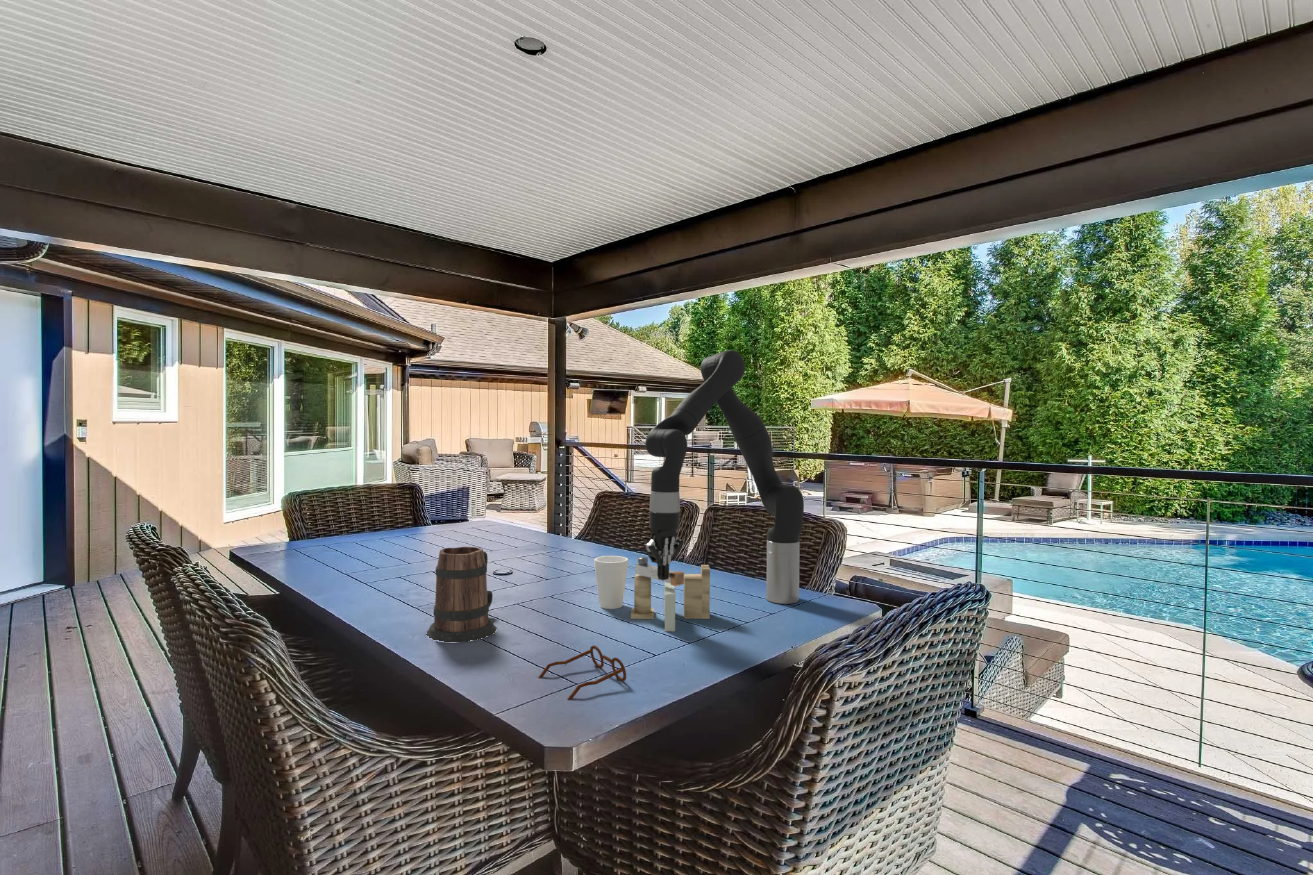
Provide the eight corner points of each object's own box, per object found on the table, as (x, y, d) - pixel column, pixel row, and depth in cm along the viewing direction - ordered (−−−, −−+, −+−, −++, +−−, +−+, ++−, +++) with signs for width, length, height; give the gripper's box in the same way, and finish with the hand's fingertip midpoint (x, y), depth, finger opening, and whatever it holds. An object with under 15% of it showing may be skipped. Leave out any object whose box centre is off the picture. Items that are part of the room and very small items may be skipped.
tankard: (478, 645, 149) (478, 558, 148) (410, 640, 152) (410, 555, 151) (518, 615, 172) (518, 540, 171) (459, 612, 175) (459, 537, 174)
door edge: (664, 612, 175) (664, 578, 175) (673, 612, 175) (673, 579, 175) (664, 631, 159) (665, 594, 159) (675, 631, 159) (675, 594, 159)
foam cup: (600, 612, 175) (600, 563, 175) (589, 603, 184) (589, 557, 183) (633, 608, 179) (633, 560, 179) (620, 599, 188) (621, 554, 187)
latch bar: (634, 574, 172) (634, 557, 172) (643, 573, 174) (643, 556, 174) (675, 586, 161) (675, 567, 161) (683, 584, 163) (684, 565, 163)
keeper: (683, 612, 175) (684, 564, 175) (708, 613, 175) (708, 564, 175) (684, 618, 170) (684, 568, 170) (709, 618, 170) (709, 569, 170)
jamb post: (631, 612, 175) (631, 573, 175) (654, 612, 175) (654, 573, 175) (630, 618, 169) (631, 578, 169) (653, 618, 169) (654, 578, 169)
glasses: (627, 686, 127) (628, 660, 127) (568, 702, 120) (568, 675, 120) (593, 665, 138) (593, 641, 138) (537, 679, 130) (537, 654, 130)
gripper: (670, 506, 169) (668, 572, 169) (635, 510, 159) (633, 580, 159) (693, 509, 164) (691, 577, 164) (658, 513, 154) (656, 586, 155)
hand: (663, 579), depth 162 cm, fingers closed
